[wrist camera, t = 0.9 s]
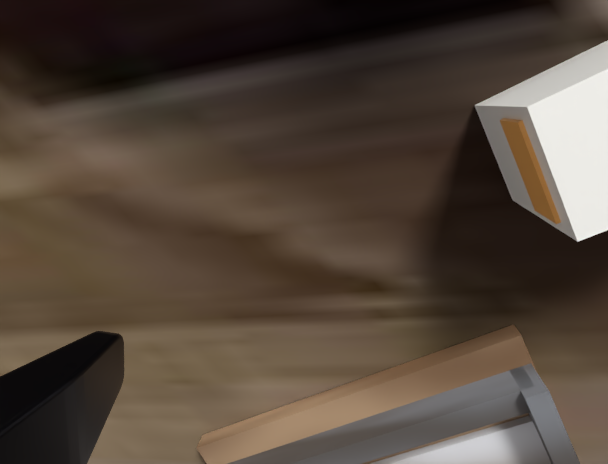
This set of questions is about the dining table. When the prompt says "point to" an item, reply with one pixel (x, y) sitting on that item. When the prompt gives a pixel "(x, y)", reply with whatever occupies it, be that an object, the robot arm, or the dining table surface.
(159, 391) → the dining table surface
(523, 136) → the block
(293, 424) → the rail mount
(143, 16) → the dining table surface
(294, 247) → the dining table surface
